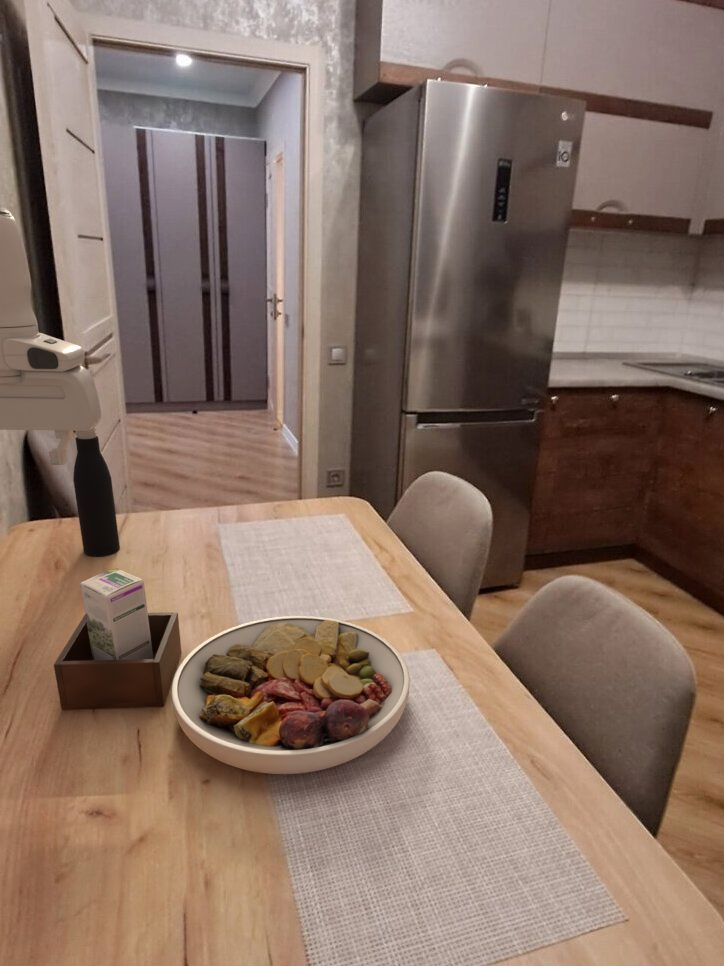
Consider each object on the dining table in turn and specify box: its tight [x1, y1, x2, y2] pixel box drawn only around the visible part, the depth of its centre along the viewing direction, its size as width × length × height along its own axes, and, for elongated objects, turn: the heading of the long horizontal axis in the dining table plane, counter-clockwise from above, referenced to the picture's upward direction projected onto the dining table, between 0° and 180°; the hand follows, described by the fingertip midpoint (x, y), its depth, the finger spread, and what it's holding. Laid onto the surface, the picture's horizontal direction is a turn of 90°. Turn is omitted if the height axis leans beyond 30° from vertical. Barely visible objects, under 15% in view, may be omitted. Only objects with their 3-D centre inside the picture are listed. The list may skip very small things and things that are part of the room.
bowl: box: [170, 615, 411, 775], centre depth 86 cm, size 30×30×8 cm
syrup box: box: [80, 567, 153, 660], centre depth 88 cm, size 6×6×14 cm
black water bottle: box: [72, 426, 121, 557], centre depth 123 cm, size 6×6×30 cm
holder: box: [53, 612, 182, 711], centre depth 90 cm, size 13×13×7 cm
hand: (19, 463), depth 83 cm, fingers open, 8 cm apart
